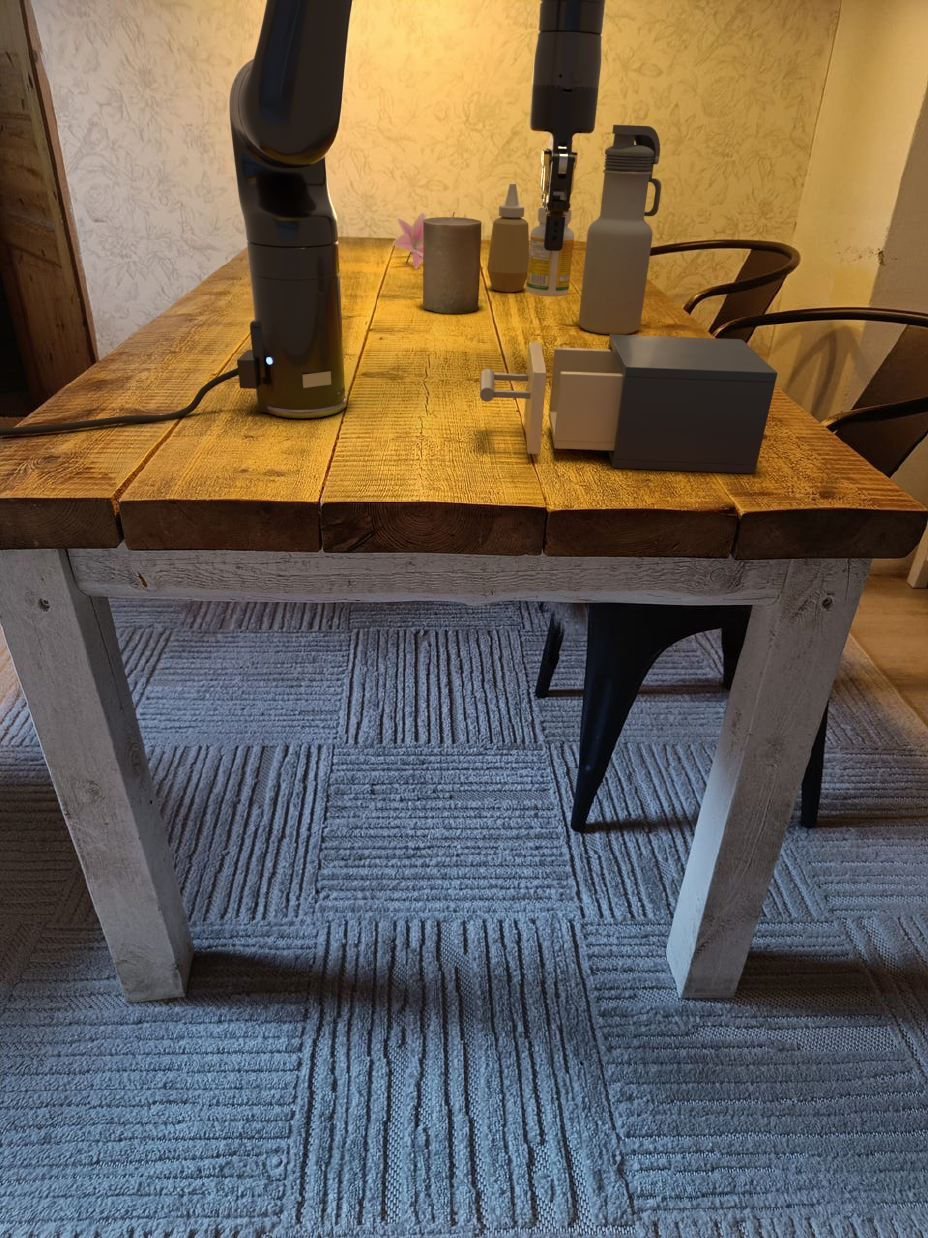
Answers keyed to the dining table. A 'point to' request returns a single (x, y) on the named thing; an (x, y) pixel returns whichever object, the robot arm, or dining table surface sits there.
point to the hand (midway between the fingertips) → (551, 245)
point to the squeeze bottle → (509, 246)
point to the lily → (412, 239)
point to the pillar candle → (451, 264)
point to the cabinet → (690, 404)
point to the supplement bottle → (549, 261)
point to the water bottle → (621, 235)
